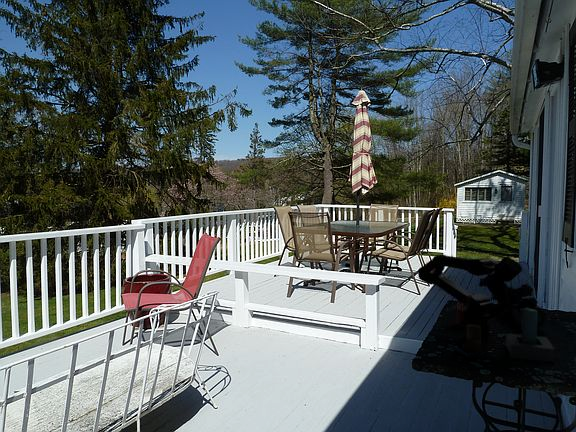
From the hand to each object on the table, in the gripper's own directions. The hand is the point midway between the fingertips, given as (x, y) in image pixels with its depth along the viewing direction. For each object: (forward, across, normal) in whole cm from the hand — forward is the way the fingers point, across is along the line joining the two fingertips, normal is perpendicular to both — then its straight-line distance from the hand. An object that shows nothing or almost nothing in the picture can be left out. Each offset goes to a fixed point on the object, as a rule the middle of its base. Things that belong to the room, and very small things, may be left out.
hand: (530, 330), depth 143 cm
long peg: (+5, 0, +6) cm, 8 cm away
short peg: (-2, -13, +13) cm, 19 cm away
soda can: (-16, +9, +27) cm, 33 cm away
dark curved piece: (-10, +28, +21) cm, 37 cm away
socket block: (+5, 0, +6) cm, 8 cm away
